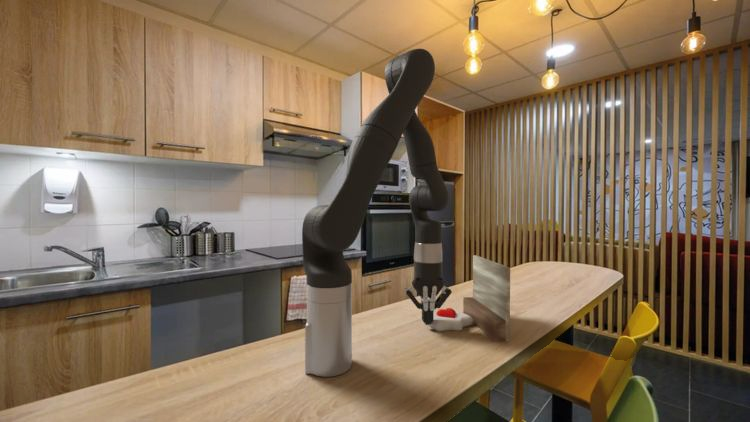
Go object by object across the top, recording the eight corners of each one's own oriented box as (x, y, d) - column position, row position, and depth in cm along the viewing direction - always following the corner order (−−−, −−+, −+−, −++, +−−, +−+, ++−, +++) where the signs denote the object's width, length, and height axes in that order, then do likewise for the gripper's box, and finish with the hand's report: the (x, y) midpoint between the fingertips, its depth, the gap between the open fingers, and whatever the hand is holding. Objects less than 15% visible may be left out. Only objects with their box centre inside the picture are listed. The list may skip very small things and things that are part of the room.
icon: (442, 319, 80) (421, 308, 89) (442, 336, 80) (421, 323, 89) (479, 313, 85) (455, 302, 94) (479, 328, 85) (455, 316, 94)
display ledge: (494, 341, 76) (494, 268, 76) (463, 313, 96) (463, 255, 96) (509, 340, 77) (510, 267, 76) (475, 313, 97) (476, 255, 96)
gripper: (406, 262, 79) (406, 329, 79) (457, 261, 81) (456, 328, 81) (401, 257, 87) (400, 319, 87) (447, 256, 88) (446, 317, 88)
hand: (427, 323), depth 84 cm, fingers closed
